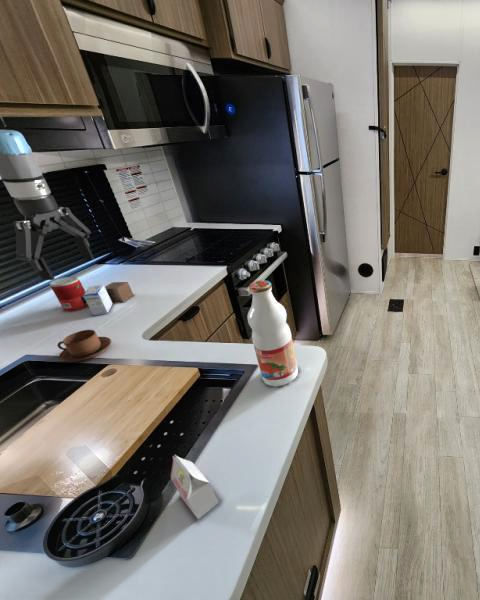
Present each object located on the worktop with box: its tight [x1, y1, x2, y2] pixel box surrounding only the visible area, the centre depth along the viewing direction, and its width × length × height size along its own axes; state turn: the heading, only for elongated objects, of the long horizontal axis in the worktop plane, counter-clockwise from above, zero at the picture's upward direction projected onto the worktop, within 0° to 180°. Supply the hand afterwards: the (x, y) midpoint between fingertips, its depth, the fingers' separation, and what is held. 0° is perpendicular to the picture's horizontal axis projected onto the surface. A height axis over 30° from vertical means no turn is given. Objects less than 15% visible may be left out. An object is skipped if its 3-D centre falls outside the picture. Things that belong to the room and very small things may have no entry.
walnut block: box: [104, 281, 134, 303], centre depth 131 cm, size 6×6×6 cm
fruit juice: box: [246, 279, 299, 387], centre depth 84 cm, size 9×9×28 cm
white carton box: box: [169, 454, 220, 520], centre depth 59 cm, size 4×7×10 cm, turn 53°
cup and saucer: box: [57, 329, 112, 363], centre depth 99 cm, size 12×12×6 cm
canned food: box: [49, 276, 89, 312], centre depth 124 cm, size 8×8×11 cm
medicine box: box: [83, 284, 113, 316], centre depth 122 cm, size 8×4×9 cm, turn 27°
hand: (70, 268), depth 98 cm, fingers open, 13 cm apart
